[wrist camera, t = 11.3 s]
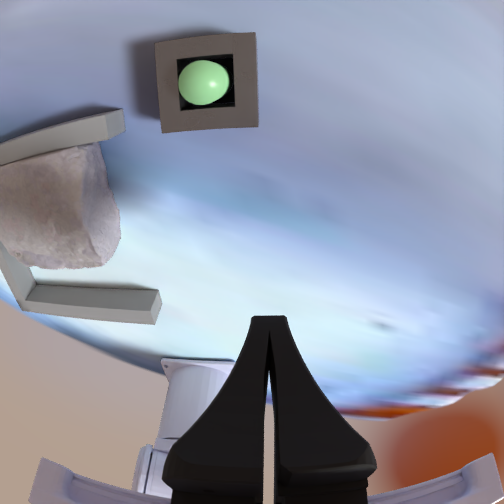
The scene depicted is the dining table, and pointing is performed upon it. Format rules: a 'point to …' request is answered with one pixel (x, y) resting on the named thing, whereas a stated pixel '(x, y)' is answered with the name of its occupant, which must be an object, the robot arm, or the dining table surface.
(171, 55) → the button box
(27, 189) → the stone block
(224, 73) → the button
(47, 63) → the dining table surface
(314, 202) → the dining table surface
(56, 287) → the corral
